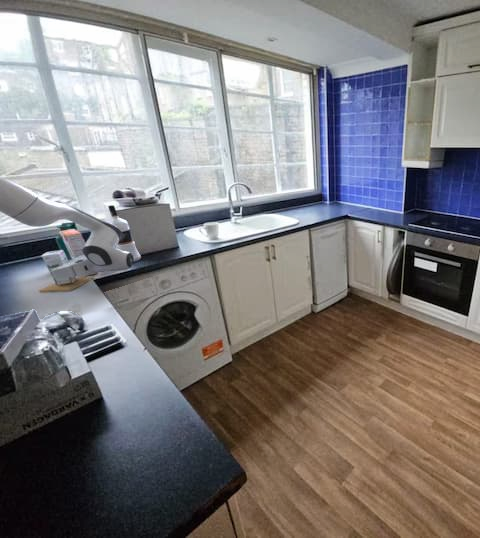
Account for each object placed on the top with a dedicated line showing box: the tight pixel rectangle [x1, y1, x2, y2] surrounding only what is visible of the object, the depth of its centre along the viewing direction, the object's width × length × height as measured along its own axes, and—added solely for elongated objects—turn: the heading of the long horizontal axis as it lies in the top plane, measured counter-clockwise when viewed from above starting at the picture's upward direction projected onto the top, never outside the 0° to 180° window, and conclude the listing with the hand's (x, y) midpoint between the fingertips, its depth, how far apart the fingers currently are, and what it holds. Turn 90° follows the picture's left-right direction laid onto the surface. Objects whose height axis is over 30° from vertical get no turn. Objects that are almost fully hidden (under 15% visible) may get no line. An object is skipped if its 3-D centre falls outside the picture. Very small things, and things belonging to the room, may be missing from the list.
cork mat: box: [38, 276, 94, 293], centre depth 132 cm, size 13×13×1 cm
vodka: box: [107, 204, 142, 263], centre depth 153 cm, size 9×9×30 cm
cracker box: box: [58, 229, 98, 277], centre depth 142 cm, size 14×6×21 cm, turn 52°
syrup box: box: [41, 249, 77, 286], centre depth 129 cm, size 6×6×14 cm
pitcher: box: [55, 221, 78, 260], centre depth 151 cm, size 10×8×22 cm
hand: (57, 266), depth 129 cm, fingers closed on syrup box, 6 cm apart
